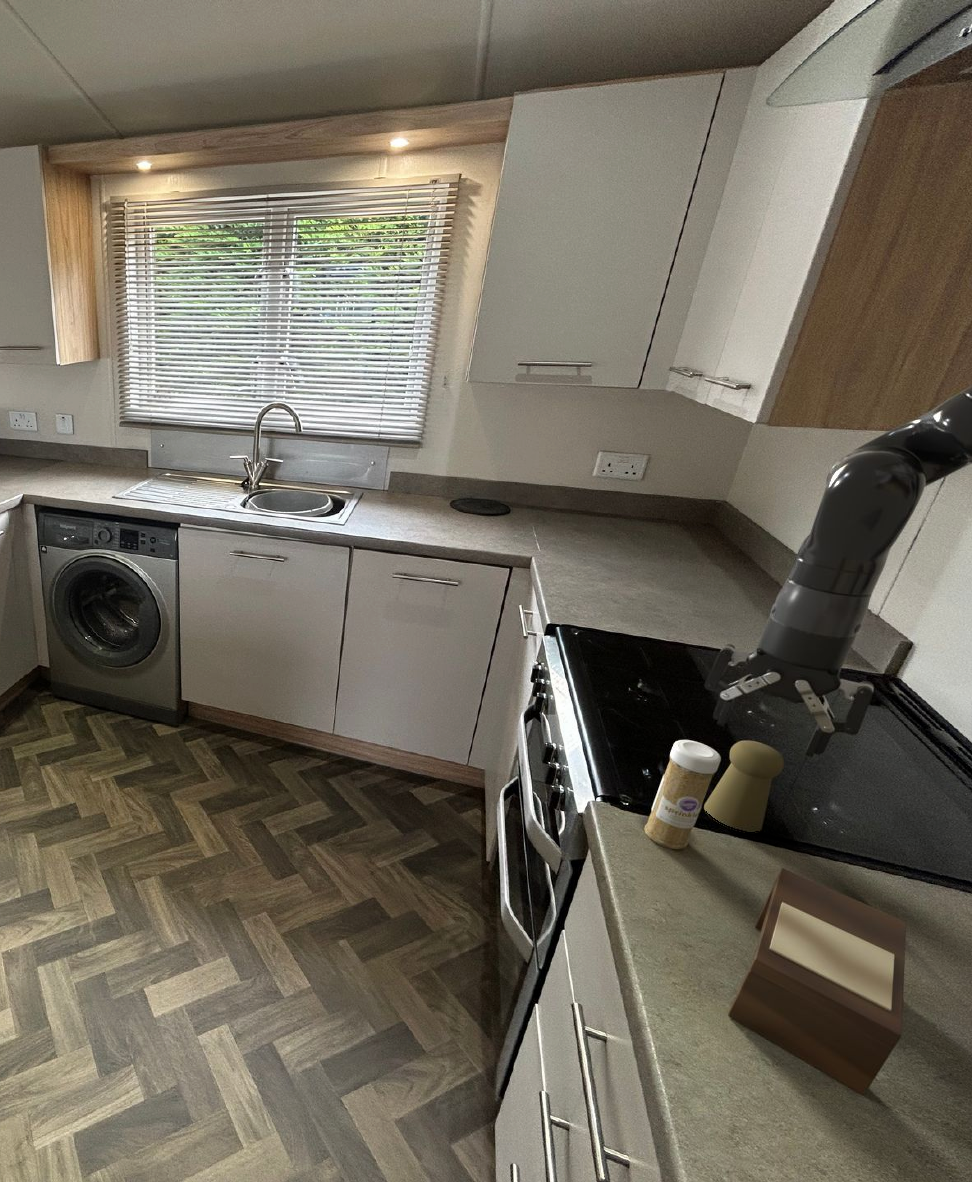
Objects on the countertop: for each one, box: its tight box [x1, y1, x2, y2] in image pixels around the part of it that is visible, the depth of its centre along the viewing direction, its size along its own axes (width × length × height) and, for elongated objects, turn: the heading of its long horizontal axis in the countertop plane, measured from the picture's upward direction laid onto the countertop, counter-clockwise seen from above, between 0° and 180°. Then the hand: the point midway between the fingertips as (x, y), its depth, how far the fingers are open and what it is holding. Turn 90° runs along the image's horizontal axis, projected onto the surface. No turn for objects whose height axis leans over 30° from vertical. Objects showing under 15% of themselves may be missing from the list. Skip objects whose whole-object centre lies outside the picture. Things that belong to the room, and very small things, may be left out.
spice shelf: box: [727, 867, 907, 1096], centre depth 59 cm, size 16×9×8 cm, turn 132°
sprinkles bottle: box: [644, 739, 722, 850], centre depth 78 cm, size 5×5×13 cm
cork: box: [703, 740, 785, 833], centre depth 82 cm, size 6×6×11 cm
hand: (763, 737), depth 80 cm, fingers open, 8 cm apart
